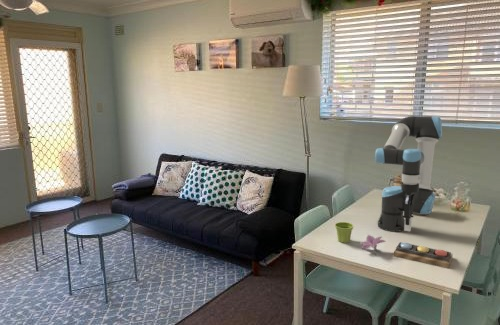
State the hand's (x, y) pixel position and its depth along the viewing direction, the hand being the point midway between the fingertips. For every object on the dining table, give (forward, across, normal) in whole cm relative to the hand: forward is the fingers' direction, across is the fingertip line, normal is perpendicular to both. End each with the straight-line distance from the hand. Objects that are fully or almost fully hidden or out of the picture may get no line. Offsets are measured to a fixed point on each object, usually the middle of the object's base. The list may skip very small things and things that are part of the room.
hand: (407, 230), depth 177 cm
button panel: (+11, -1, -8) cm, 14 cm away
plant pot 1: (+12, -2, +30) cm, 33 cm away
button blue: (+9, -1, 0) cm, 9 cm away
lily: (+12, -7, +14) cm, 20 cm away
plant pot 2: (+12, +64, +7) cm, 66 cm away
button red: (+9, -1, -15) cm, 17 cm away
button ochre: (+9, -1, -8) cm, 11 cm away
